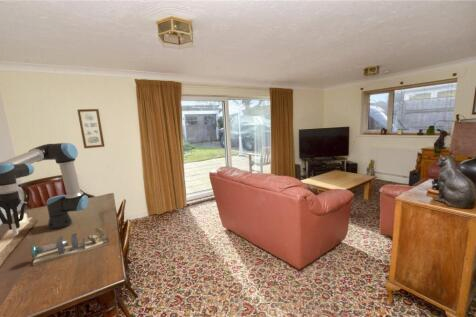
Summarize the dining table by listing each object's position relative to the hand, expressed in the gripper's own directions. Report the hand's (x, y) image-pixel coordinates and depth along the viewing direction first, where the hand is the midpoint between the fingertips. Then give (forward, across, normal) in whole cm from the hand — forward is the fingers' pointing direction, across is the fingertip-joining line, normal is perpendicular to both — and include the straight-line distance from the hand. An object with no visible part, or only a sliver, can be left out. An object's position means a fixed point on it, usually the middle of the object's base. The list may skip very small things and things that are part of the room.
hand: (15, 234), depth 119 cm
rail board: (+18, +24, 0) cm, 30 cm away
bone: (+17, +35, 0) cm, 39 cm away
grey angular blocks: (+18, +29, 0) cm, 34 cm away
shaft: (+15, +13, 0) cm, 20 cm away
